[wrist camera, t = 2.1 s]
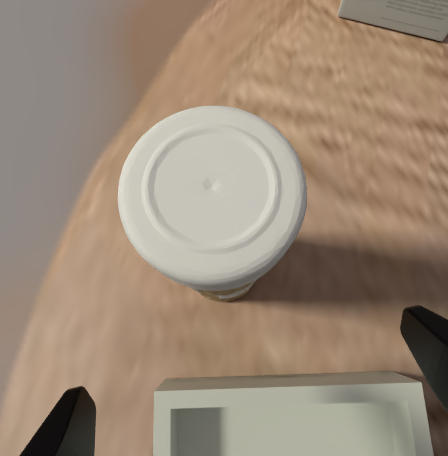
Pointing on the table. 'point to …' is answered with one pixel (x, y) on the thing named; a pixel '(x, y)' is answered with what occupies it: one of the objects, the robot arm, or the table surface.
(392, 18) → the small box
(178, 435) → the tray
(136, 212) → the sprinkles bottle
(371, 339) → the table surface
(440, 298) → the table surface
